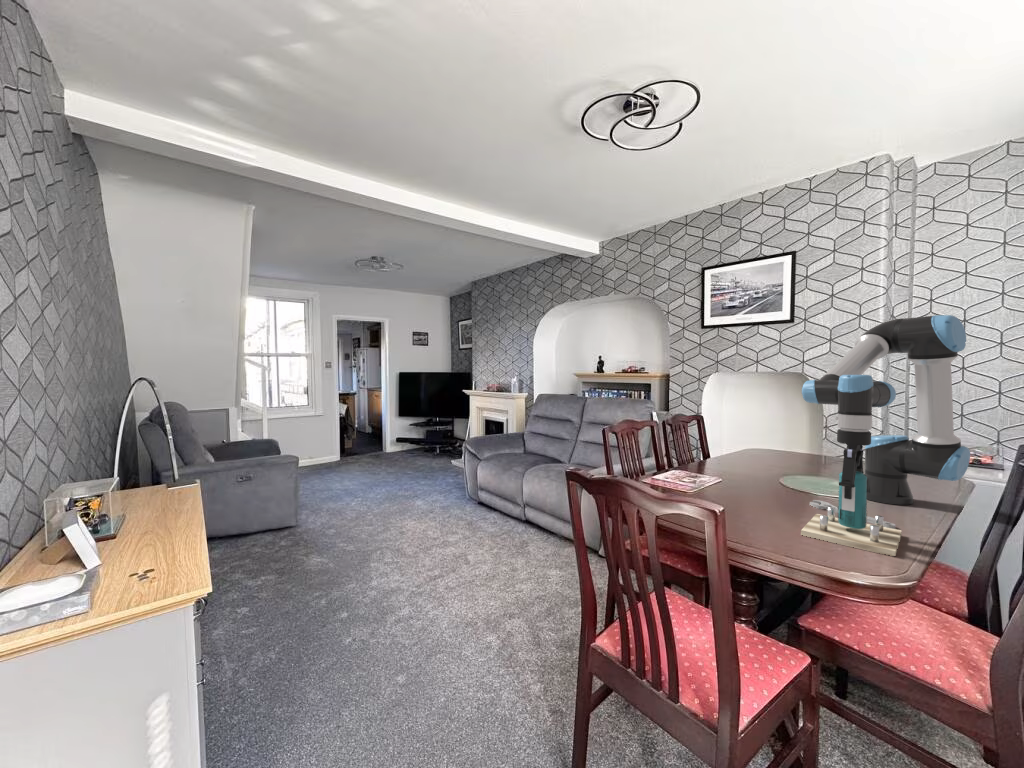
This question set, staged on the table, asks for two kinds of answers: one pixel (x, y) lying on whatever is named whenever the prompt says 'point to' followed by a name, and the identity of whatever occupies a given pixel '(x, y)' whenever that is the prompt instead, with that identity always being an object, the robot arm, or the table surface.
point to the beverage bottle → (859, 515)
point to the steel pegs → (873, 528)
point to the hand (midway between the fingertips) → (852, 504)
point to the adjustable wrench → (825, 506)
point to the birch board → (854, 536)
